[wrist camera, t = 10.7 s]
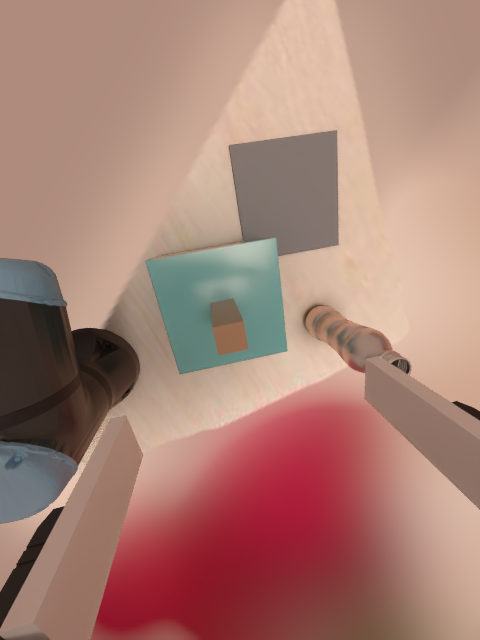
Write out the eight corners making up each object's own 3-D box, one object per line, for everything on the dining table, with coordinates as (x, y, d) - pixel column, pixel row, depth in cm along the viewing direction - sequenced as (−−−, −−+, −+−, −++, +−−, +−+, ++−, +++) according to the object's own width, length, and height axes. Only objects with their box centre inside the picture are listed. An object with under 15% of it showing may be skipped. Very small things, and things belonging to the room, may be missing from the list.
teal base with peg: (186, 341, 42) (170, 421, 24) (162, 255, 37) (116, 270, 18) (268, 325, 44) (314, 388, 25) (257, 238, 38) (305, 236, 19)
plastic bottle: (314, 340, 47) (388, 404, 28) (295, 318, 44) (362, 372, 26) (338, 319, 46) (431, 371, 27) (320, 295, 44) (408, 335, 25)
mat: (246, 261, 39) (246, 261, 39) (229, 146, 34) (229, 145, 33) (337, 244, 41) (338, 244, 41) (335, 131, 35) (337, 130, 35)
